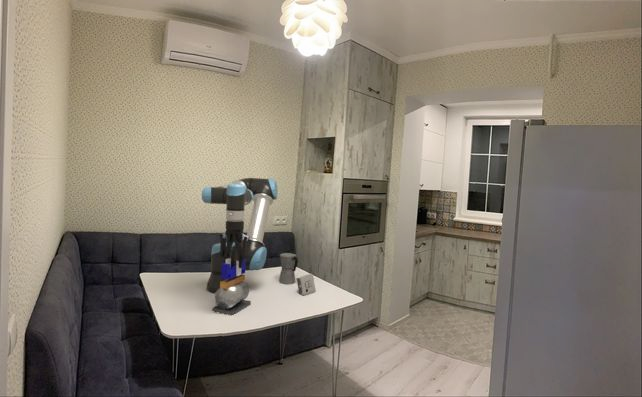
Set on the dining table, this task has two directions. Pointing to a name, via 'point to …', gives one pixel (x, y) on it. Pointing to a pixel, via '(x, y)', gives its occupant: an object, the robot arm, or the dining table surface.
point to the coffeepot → (288, 267)
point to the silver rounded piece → (232, 295)
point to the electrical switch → (306, 284)
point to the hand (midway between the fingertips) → (233, 274)
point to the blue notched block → (230, 270)
